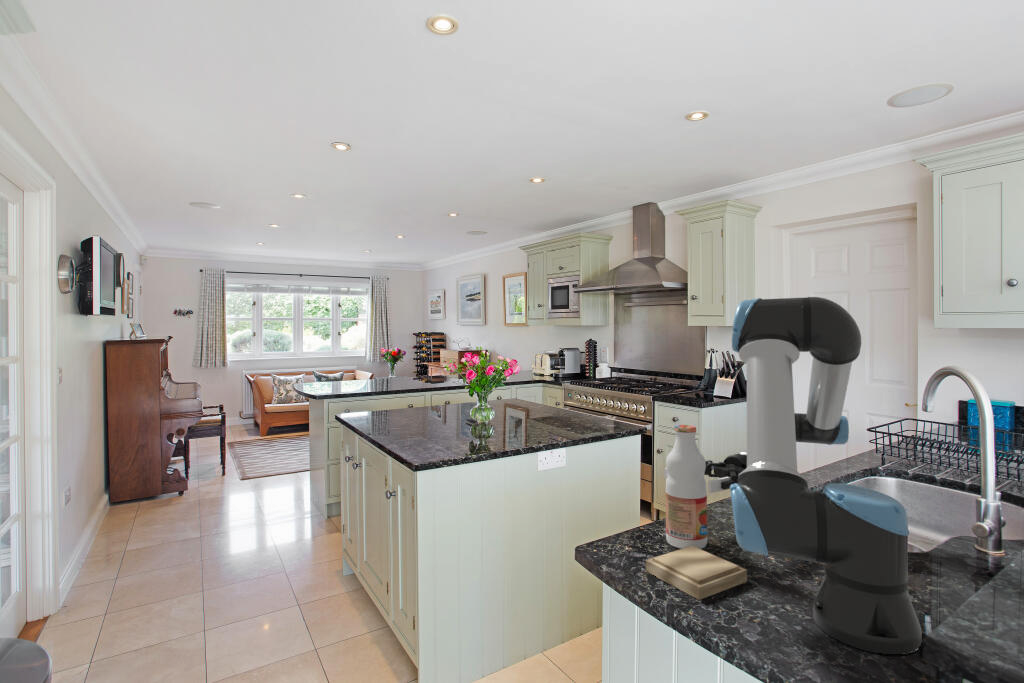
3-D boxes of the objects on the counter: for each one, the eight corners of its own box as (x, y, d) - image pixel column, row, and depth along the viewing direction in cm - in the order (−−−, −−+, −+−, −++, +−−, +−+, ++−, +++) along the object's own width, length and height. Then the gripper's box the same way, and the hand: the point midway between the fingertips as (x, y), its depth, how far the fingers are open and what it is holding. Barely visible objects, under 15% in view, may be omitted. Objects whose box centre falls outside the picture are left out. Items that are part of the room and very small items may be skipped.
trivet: (747, 581, 106) (746, 566, 106) (699, 600, 99) (699, 584, 99) (691, 556, 118) (691, 543, 118) (645, 571, 111) (645, 557, 111)
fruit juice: (662, 535, 131) (661, 423, 130) (700, 535, 130) (699, 422, 129) (670, 550, 121) (669, 430, 121) (712, 551, 120) (711, 429, 120)
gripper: (789, 494, 126) (731, 510, 115) (705, 471, 147) (649, 483, 137) (789, 463, 126) (730, 476, 115) (704, 445, 147) (648, 454, 137)
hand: (686, 480), depth 126 cm, fingers open, 13 cm apart
